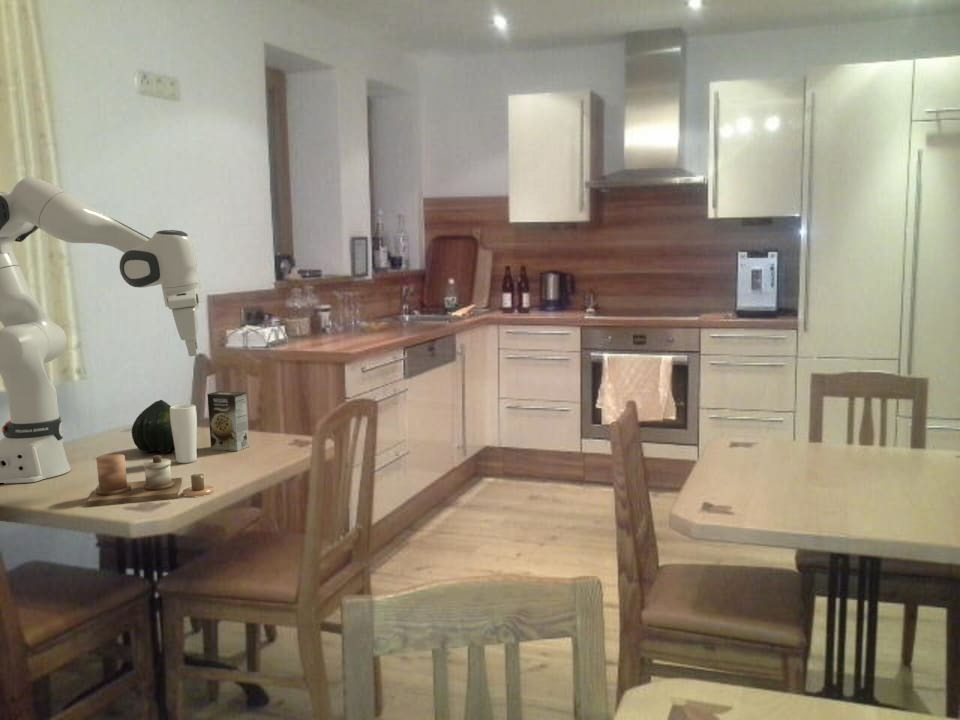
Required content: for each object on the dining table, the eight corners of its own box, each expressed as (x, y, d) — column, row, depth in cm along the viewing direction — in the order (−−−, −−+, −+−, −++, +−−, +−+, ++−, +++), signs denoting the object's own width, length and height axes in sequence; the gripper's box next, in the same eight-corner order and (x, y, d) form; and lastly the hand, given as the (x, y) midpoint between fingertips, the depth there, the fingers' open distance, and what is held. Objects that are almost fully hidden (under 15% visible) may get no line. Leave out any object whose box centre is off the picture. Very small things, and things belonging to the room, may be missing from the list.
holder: (87, 506, 193) (83, 466, 192) (98, 489, 206) (95, 452, 205) (177, 498, 198) (174, 458, 196) (182, 482, 211) (179, 445, 210)
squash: (144, 441, 232) (172, 394, 239) (113, 438, 241) (140, 393, 248) (181, 467, 242) (207, 421, 249) (150, 462, 251) (175, 418, 258)
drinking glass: (204, 458, 235) (200, 404, 233) (193, 464, 228) (189, 408, 226) (180, 458, 236) (176, 404, 234) (168, 464, 229) (164, 409, 227)
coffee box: (209, 450, 245) (206, 394, 242) (223, 444, 251) (219, 390, 249) (237, 451, 242) (233, 394, 240) (250, 446, 248) (247, 391, 246)
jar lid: (182, 499, 197) (180, 480, 197) (184, 491, 204) (183, 473, 203) (213, 496, 199) (211, 477, 199) (214, 488, 206) (213, 470, 205)
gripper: (171, 295, 218) (181, 348, 221) (167, 303, 198) (178, 361, 201) (197, 291, 219) (207, 344, 222) (195, 299, 200) (206, 357, 203)
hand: (193, 352), depth 212 cm, fingers open, 8 cm apart
